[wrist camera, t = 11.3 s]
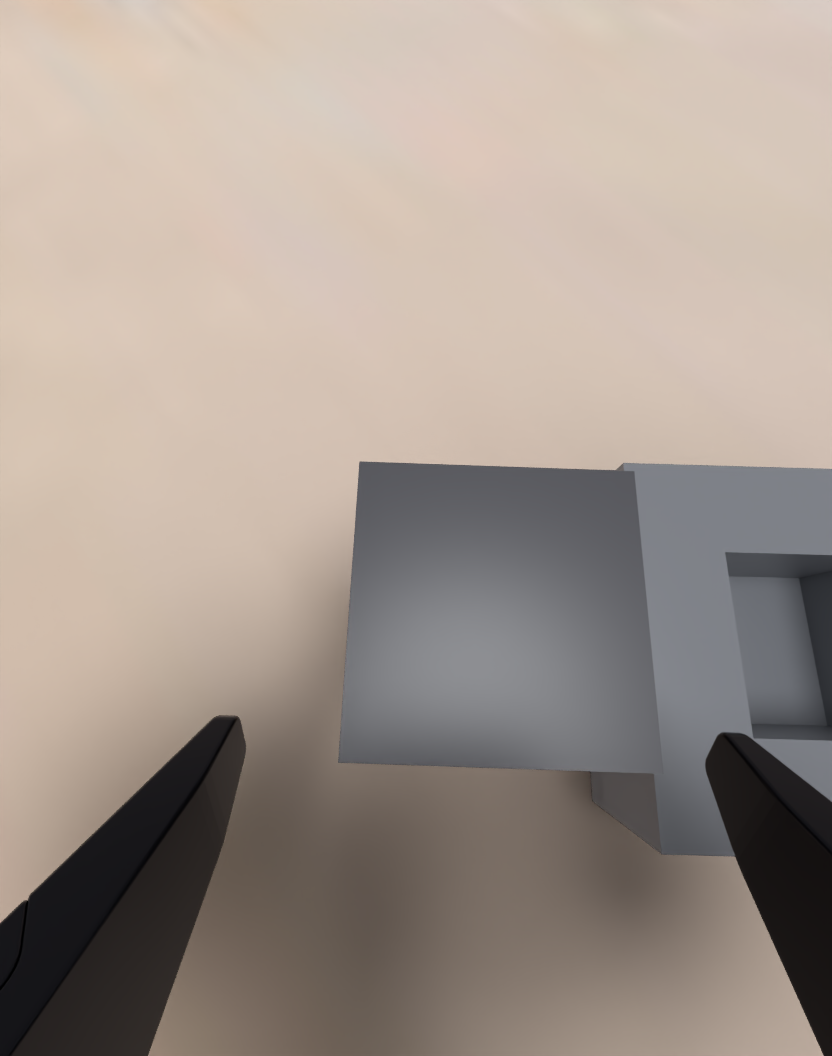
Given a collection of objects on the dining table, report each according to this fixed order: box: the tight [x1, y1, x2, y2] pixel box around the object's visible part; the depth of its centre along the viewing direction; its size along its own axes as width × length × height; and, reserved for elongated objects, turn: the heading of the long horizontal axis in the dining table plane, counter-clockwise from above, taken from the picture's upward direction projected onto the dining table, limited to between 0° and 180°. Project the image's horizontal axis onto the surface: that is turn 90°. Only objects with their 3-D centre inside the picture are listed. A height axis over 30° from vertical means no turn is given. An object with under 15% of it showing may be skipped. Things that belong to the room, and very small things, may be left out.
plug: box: [338, 462, 664, 774], centre depth 12 cm, size 4×4×11 cm
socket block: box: [590, 463, 832, 856], centre depth 15 cm, size 10×10×4 cm
